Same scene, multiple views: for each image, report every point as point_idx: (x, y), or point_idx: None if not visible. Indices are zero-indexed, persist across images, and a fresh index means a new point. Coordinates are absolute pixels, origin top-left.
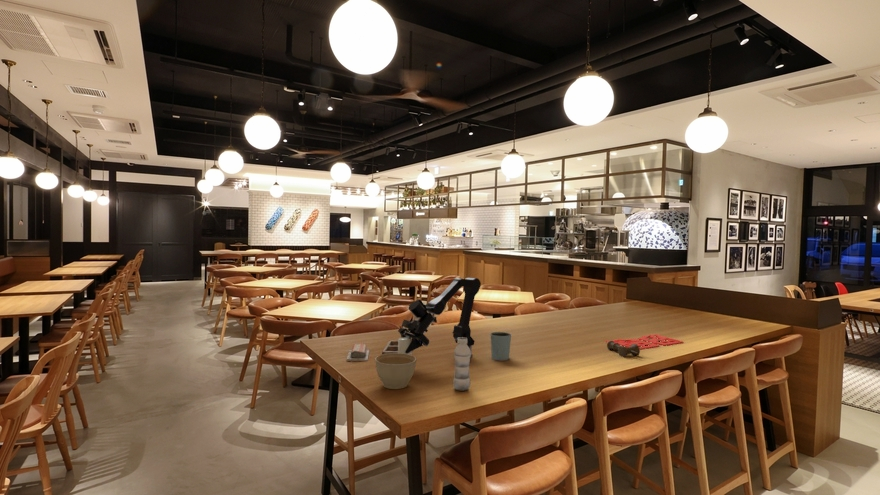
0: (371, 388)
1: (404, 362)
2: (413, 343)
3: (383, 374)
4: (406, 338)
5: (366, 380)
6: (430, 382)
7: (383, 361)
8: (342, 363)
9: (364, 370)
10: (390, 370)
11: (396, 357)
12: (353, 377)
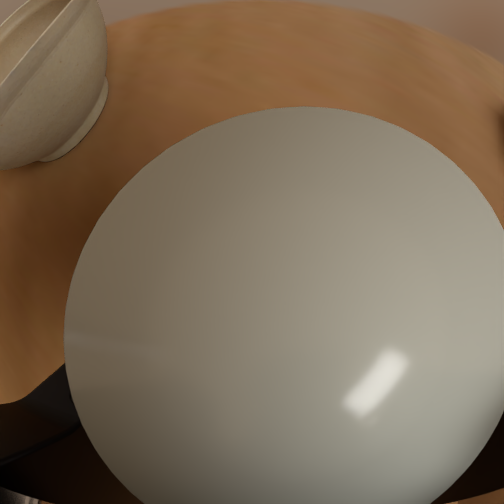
0: (112, 40)
1: (15, 133)
2: (55, 407)
3: (36, 37)
4: (356, 471)
5: (200, 33)
6: (10, 270)
7: (92, 16)
8: (485, 78)
9: (361, 71)
10: (2, 49)
11: (37, 70)
12: (273, 11)
